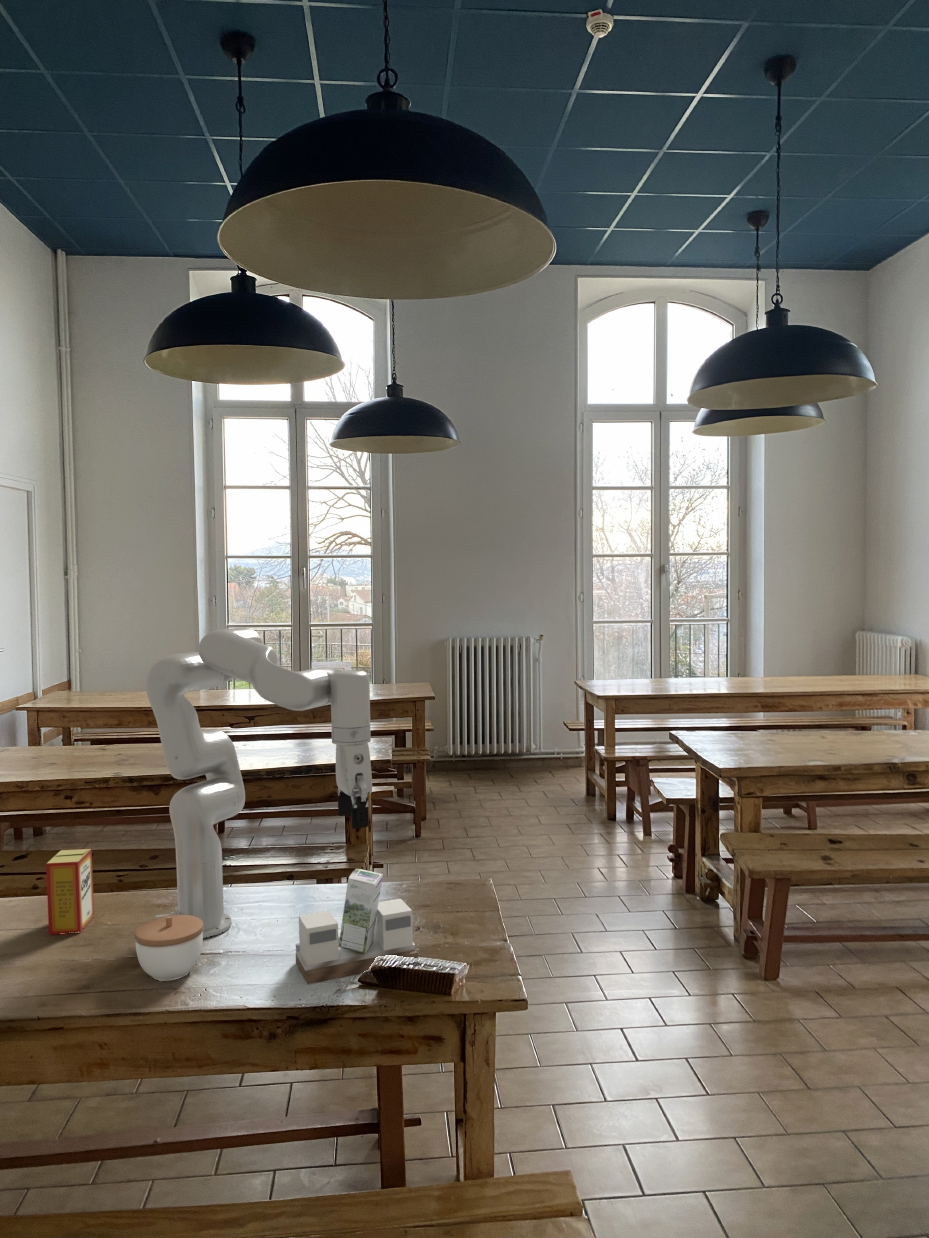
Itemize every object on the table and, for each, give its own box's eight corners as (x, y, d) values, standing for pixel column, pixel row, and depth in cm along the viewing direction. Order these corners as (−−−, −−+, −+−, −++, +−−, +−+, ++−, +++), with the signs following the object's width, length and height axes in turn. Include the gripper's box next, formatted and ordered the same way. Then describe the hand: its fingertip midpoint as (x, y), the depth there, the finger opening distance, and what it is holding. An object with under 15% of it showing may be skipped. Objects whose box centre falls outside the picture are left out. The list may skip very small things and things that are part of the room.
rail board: (307, 984, 165) (306, 963, 165) (295, 962, 174) (295, 943, 174) (418, 962, 174) (417, 942, 173) (401, 942, 183) (401, 924, 183)
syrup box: (373, 941, 176) (384, 872, 175) (365, 955, 170) (376, 883, 169) (346, 935, 177) (356, 866, 176) (337, 948, 171) (347, 877, 170)
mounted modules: (308, 965, 166) (307, 929, 166) (299, 950, 173) (298, 915, 173) (413, 945, 174) (412, 910, 174) (401, 931, 181) (400, 898, 181)
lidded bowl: (135, 965, 174) (133, 910, 174) (202, 954, 179) (200, 901, 178) (136, 993, 163) (134, 934, 162) (207, 981, 167) (205, 923, 167)
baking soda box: (80, 933, 191) (77, 860, 190) (49, 935, 190) (45, 861, 189) (94, 916, 200) (91, 846, 199) (64, 918, 199) (61, 848, 199)
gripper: (383, 740, 165) (385, 830, 166) (357, 725, 181) (359, 808, 182) (344, 743, 162) (346, 835, 163) (321, 728, 178) (323, 812, 179)
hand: (353, 821), depth 173 cm, fingers open, 9 cm apart
